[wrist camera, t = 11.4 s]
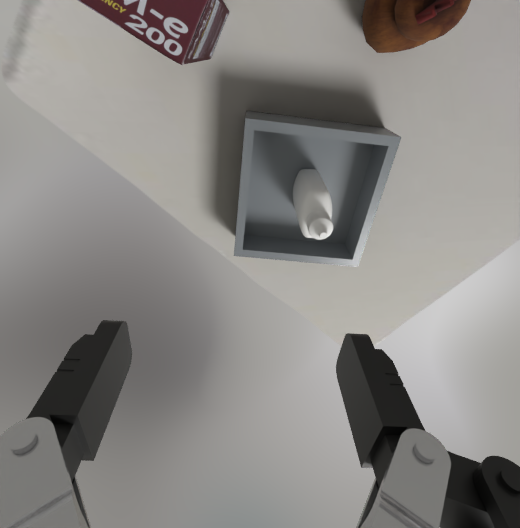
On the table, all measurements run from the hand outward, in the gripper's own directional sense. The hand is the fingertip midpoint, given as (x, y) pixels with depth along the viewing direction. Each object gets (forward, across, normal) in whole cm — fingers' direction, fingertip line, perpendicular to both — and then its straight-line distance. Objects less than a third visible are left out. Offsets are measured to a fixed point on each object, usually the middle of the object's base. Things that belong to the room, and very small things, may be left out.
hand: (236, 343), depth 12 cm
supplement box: (+31, +7, -12) cm, 34 cm away
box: (+31, -8, +4) cm, 32 cm away
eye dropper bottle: (+30, -8, +4) cm, 32 cm away
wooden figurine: (+31, -13, -14) cm, 36 cm away
